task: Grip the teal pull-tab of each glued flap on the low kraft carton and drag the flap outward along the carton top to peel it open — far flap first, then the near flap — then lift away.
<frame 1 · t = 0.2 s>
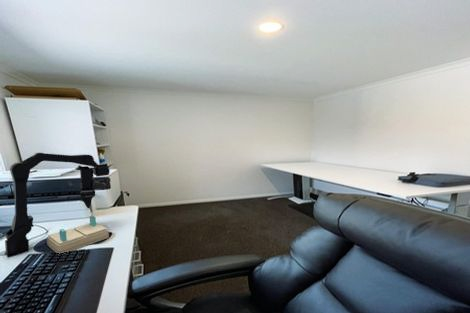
hand: (88, 206, 115), 14 cm above the table, fingers open, 9 cm apart
carton: (79, 241, 103), on the table
flap near: (65, 231, 98), point 7 cm above the table, slide at 0.0 cm
flap far: (89, 224, 107), point 7 cm above the table, slide at 0.0 cm
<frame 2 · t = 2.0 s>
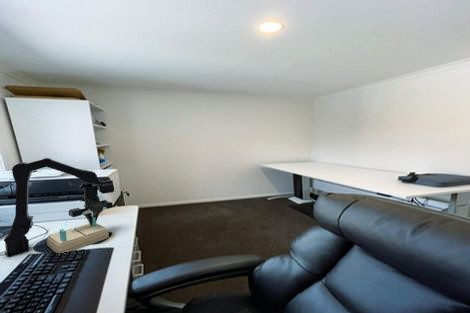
hand: (92, 224, 110), 5 cm above the table, fingers closed on flap far
flap far: (89, 224, 107), point 7 cm above the table, slide at 0.0 cm, touching gripper
everything else where it was.
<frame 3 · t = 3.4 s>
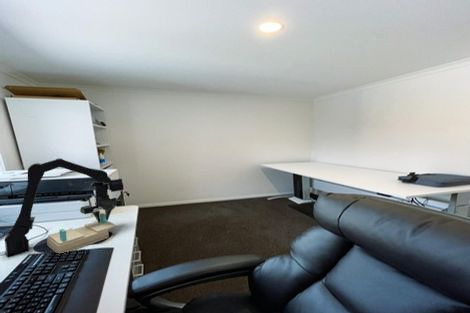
hand: (103, 221, 115), 5 cm above the table, fingers open, 4 cm apart
flap far: (100, 221, 111), point 7 cm above the table, slide at 4.9 cm
everything else where it was.
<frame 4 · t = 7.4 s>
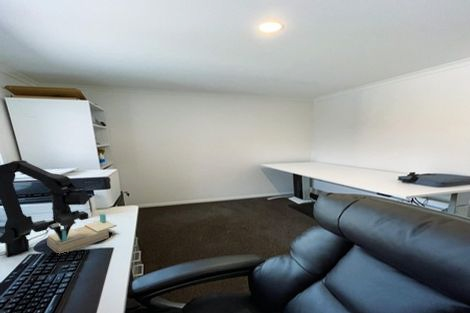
hand: (63, 239, 94), 5 cm above the table, fingers closed on flap near
flap near: (65, 231, 98), point 7 cm above the table, slide at 0.0 cm, touching gripper
everything else where it was.
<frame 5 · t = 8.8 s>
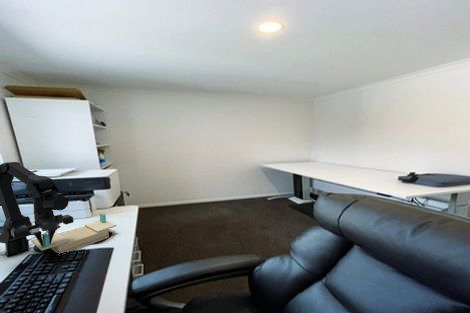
hand: (45, 244, 89), 5 cm above the table, fingers closed
flap near: (49, 235, 94), point 7 cm above the table, slide at 5.8 cm
everything else where it was.
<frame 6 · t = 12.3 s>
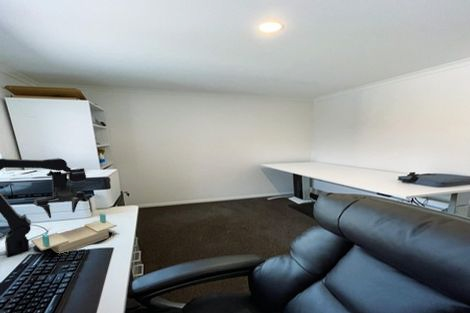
hand: (62, 215, 104), 12 cm above the table, fingers open, 9 cm apart
nothing on the table moved.
at the end: flap far slide at 4.9 cm; flap near slide at 5.8 cm; the gripper is holding nothing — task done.
